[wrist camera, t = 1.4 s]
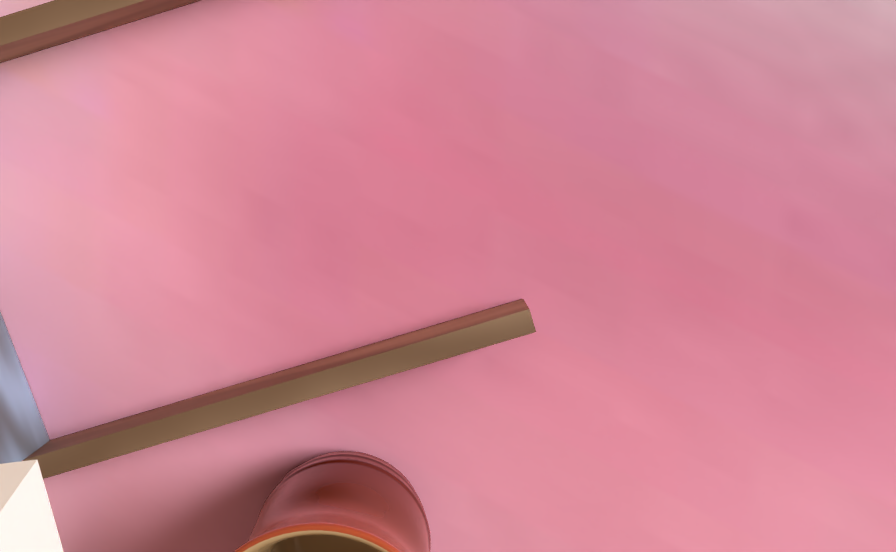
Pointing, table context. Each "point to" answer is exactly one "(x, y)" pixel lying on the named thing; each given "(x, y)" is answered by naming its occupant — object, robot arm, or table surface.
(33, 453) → the bar
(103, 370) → the table surface
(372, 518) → the mug
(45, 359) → the table surface
